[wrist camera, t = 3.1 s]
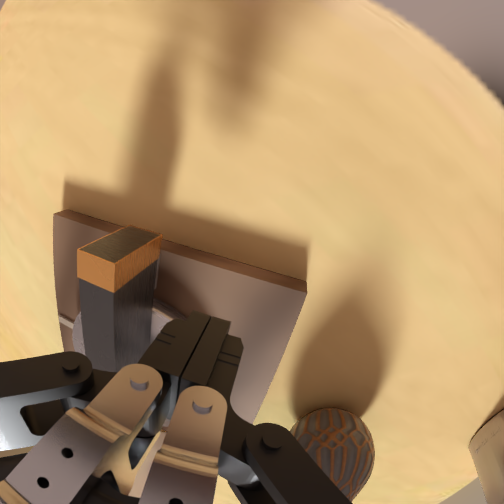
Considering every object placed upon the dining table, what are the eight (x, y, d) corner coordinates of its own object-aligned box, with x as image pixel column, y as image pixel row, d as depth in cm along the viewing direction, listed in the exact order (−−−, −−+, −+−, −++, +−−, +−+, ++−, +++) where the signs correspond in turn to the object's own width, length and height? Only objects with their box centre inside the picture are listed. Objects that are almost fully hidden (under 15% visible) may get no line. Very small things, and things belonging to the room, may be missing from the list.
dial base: (306, 281, 16) (307, 295, 15) (240, 441, 22) (237, 455, 20) (67, 209, 17) (51, 214, 16) (79, 376, 23) (70, 385, 21)
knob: (208, 429, 19) (189, 484, 14) (90, 379, 20) (57, 419, 15) (258, 252, 14) (236, 305, 9) (82, 201, 15) (14, 222, 10)
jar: (126, 437, 25) (82, 512, 14) (156, 418, 23) (104, 516, 11) (188, 475, 26) (159, 550, 15) (228, 462, 24) (201, 557, 12)
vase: (279, 399, 19) (265, 500, 11) (370, 389, 18) (390, 488, 10) (289, 446, 21) (280, 528, 13) (365, 438, 20) (373, 520, 12)
